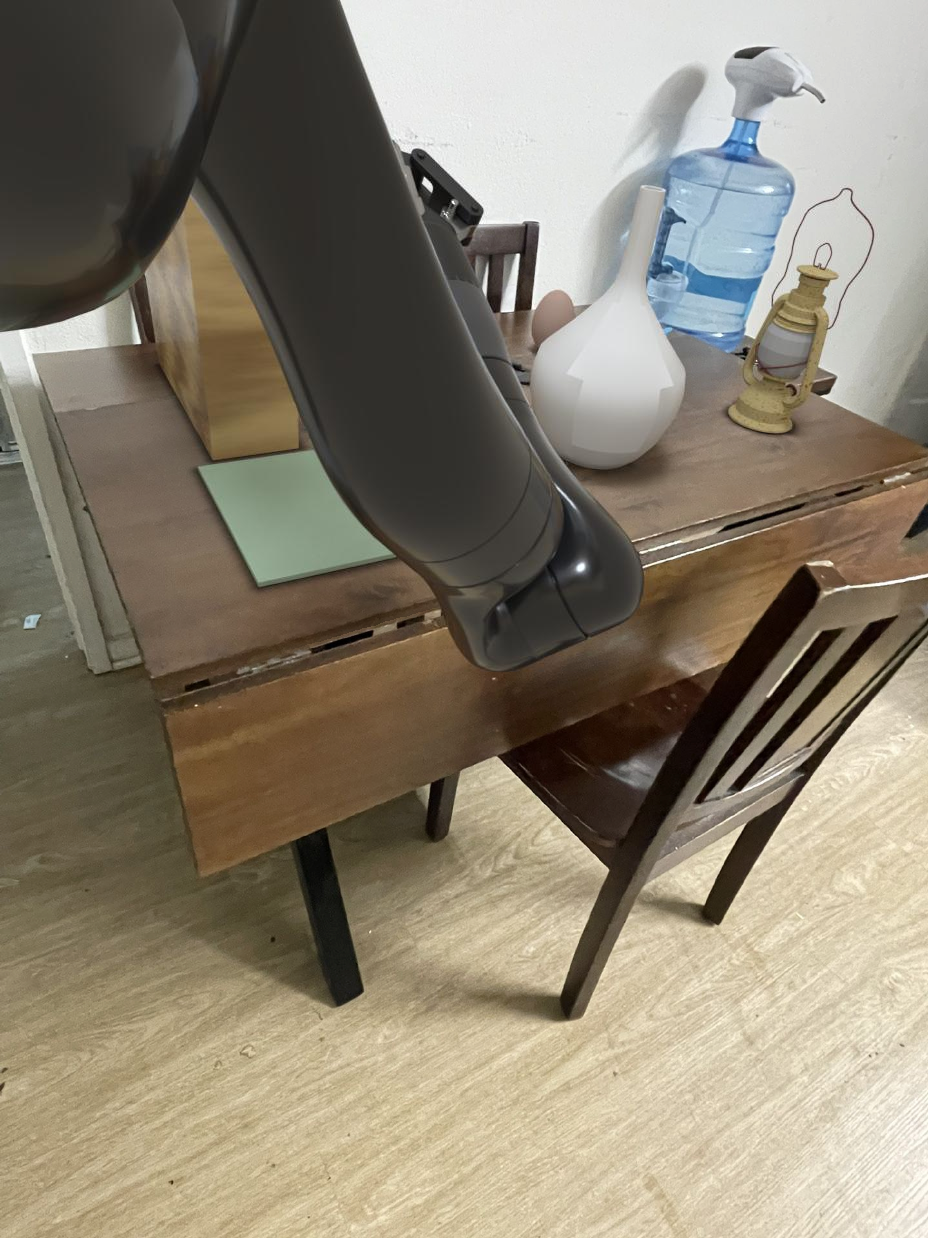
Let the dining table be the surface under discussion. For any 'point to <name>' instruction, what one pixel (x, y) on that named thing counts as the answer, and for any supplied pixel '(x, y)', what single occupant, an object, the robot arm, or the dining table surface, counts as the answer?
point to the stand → (217, 346)
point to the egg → (551, 315)
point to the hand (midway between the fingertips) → (333, 111)
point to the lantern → (788, 348)
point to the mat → (288, 518)
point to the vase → (611, 365)
